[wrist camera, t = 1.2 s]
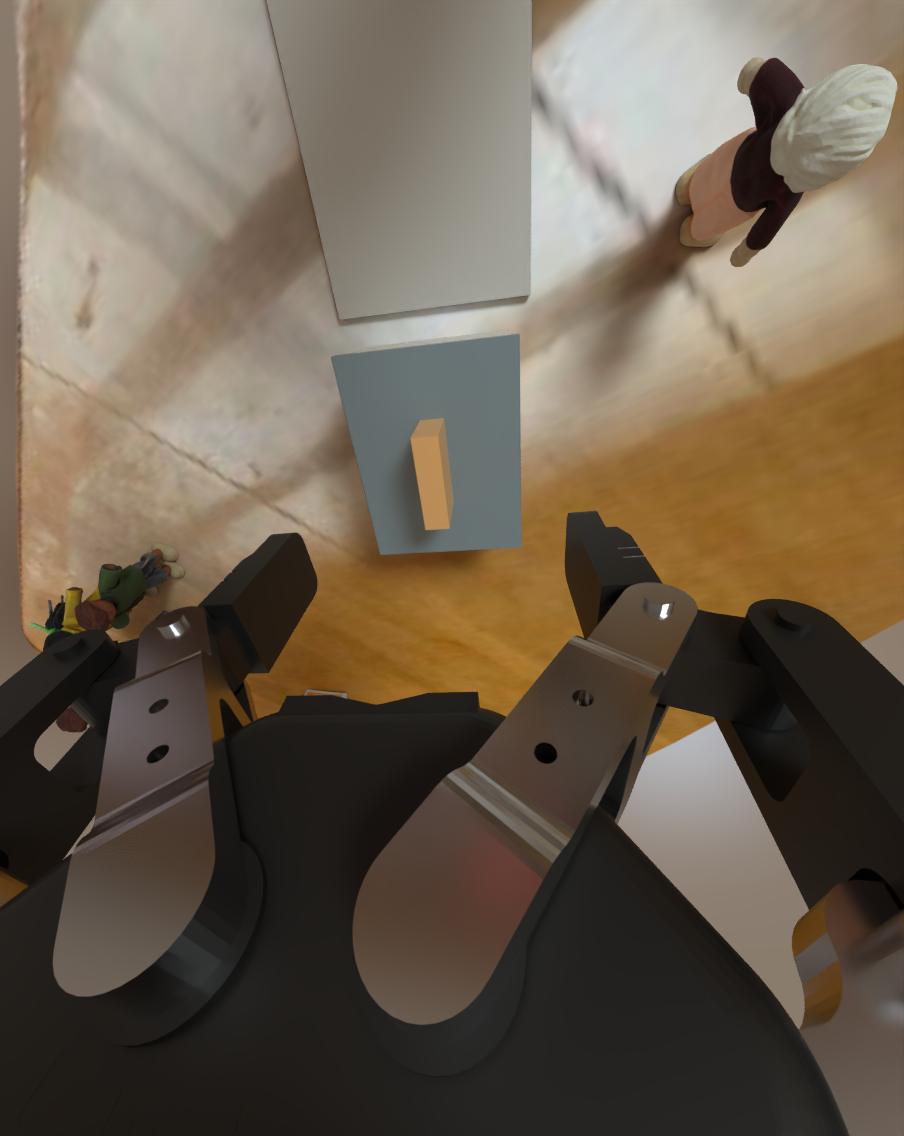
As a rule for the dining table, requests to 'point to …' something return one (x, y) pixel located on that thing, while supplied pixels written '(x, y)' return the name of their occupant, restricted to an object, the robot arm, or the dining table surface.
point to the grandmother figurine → (784, 150)
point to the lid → (437, 442)
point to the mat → (414, 145)
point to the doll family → (108, 606)
